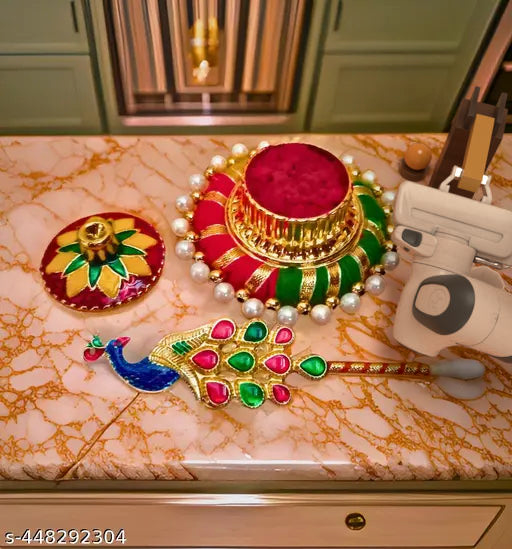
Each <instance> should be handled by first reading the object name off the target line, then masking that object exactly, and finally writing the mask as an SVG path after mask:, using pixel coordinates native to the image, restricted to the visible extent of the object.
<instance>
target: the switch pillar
mask: <svg viewBox="0 0 512 549" xmlns="http://www.w3.org/2000/svg"><path fill="white" fill-rule="evenodd" d="M481 89H482V88H481V86H479V85H478V86H477V85H475V86H474V89H473V91H472V94H471V96H470V98H469V99H468V98H464V97H463V98H461V102H460V104H459V106H458V109H457V112H456V115H455V117H454V119H453V122H452V124H451V126H450V129H449V132H448V133H447V137H446V139H445V142H444V144H443V146H442V149H441V152H440V154H439V156H438V159H437V162H436V163H435V166H434V168H433V172H432V174H431V176H430V179H429V180H428V181H429V182H428V183H427V186H428V187H432V188H435V189H438V188H439V186H440V184H441V183H442V182H443V181H445V180H446V179H447V178H448V177H449V176H450V174H451V171H452V169H453V167H454V165H456V166H459V167H462V165H463V161H464V156H465V152H466V148H467V143H468V139H469V135H470V130H471V126H472V124H473V122H474V119H475V117H476V115H477V114H480V115H484V116H488V117H492V118H495V120H494V125H493V130H492V135H491V140H490V145H489V150H488V155H487V160H486V165H485V170H484V174H486V172H487V170H488V168H489V167H490V165H491V162H492V161H493V159H494V157H495V155H496V153H497V151H498V149H499V147H500V145H501V143H502V141H503V139H504V134H505V127H506V123H507V119H508V118H507V117H508V111H509V109H508V108H506V103H507V99H508V93H506V92H501V94H500V96H499V99H498V101H497V103H496V105H492V104H488V103H484V102H480V101H479V96H480V92H481ZM458 182H459V180H455V179H453V180H452V181H451V182H450V183H448V184H447V185H449V186H450V187H449V190H448V192H449V193H452V194H456V195H459V196H462V197H466V198H469V199H473V198H474V196H475V194H476V193H475V192H472V191H468V190H464V189H461V188H458Z"/></svg>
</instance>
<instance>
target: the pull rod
mask: <svg viewBox="0 0 512 549" xmlns="http://www.w3.org/2000/svg"><path fill="white" fill-rule="evenodd" d="M494 120H495V118H492V117H488V116H484V115H480V114H477V115H476V117H475V119H474V122H473V124H472V126H471V130H470V135H469V139H468V143H467V148H466V152H465V156H464V161H463V165H462V168H463V171H462V172H461V173H462V175H461V178H460V179H459V182H458V188H461V189H464V190H468V191H472V192H475V194H476V193H477V192H478V191H479V188H480V185H481V183H482V180H483V175H484V170H485V165H486V160H487V155H488V150H489V145H490V140H491V135H492V130H493V125H494Z"/></svg>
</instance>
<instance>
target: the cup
mask: <svg viewBox="0 0 512 549" xmlns="http://www.w3.org/2000/svg"><path fill="white" fill-rule="evenodd" d="M469 277H472V278H475V279H478V280H480V281H483V282H485V283H488V284H490V285H492V286H494V287H497V288H499V289H502V290H504V289H505V288H506V285H505V283H504V280H503V278H502V275H501V274H500V272H498V271H496V270H495V269H493V268H492V267H488V266H483V265H480V266H479V265H478V266H472V267H471V270H470V273H469Z"/></svg>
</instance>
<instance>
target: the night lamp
mask: <svg viewBox="0 0 512 549" xmlns="http://www.w3.org/2000/svg"><path fill="white" fill-rule="evenodd" d="M432 158H433V153H432V150H431V148H430V147H429V146H428V145H427V144H425V143H422V142H415V143H412V144H411V145H409V146H408V147H407V148H406V150H405V152H404V156H403V158H402V159H401V160H400V165H399V167H398V171H399V174H400V176H401V177H402V178H403V179H405V180H406V181H411V182H414V183H417V182H421V181H424V179H426V177H427V175H428V172H429V170H430V163H431V162H432Z"/></svg>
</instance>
